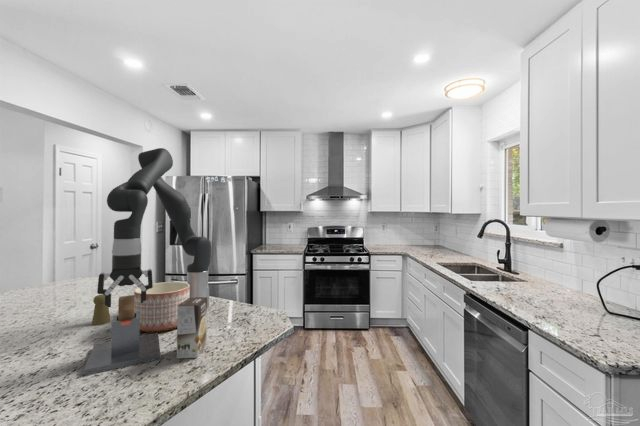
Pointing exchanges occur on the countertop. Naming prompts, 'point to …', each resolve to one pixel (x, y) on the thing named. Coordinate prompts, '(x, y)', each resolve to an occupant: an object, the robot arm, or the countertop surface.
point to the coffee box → (192, 327)
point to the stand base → (123, 347)
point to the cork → (100, 311)
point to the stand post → (126, 307)
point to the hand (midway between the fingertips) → (126, 304)
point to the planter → (161, 305)
